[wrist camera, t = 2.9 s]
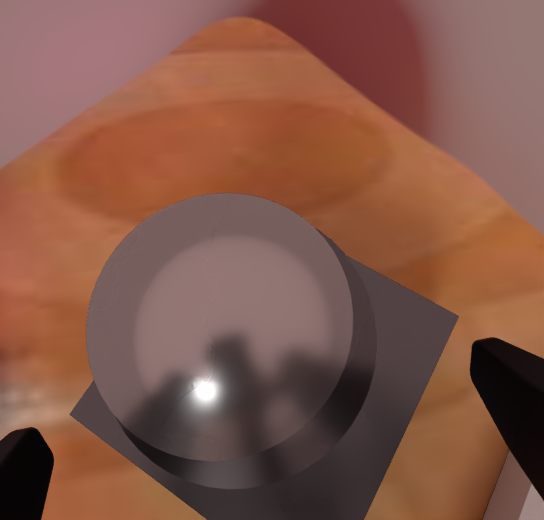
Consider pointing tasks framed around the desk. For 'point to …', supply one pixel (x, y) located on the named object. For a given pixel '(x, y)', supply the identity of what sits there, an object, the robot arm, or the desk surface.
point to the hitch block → (352, 446)
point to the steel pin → (231, 340)
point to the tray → (514, 495)
